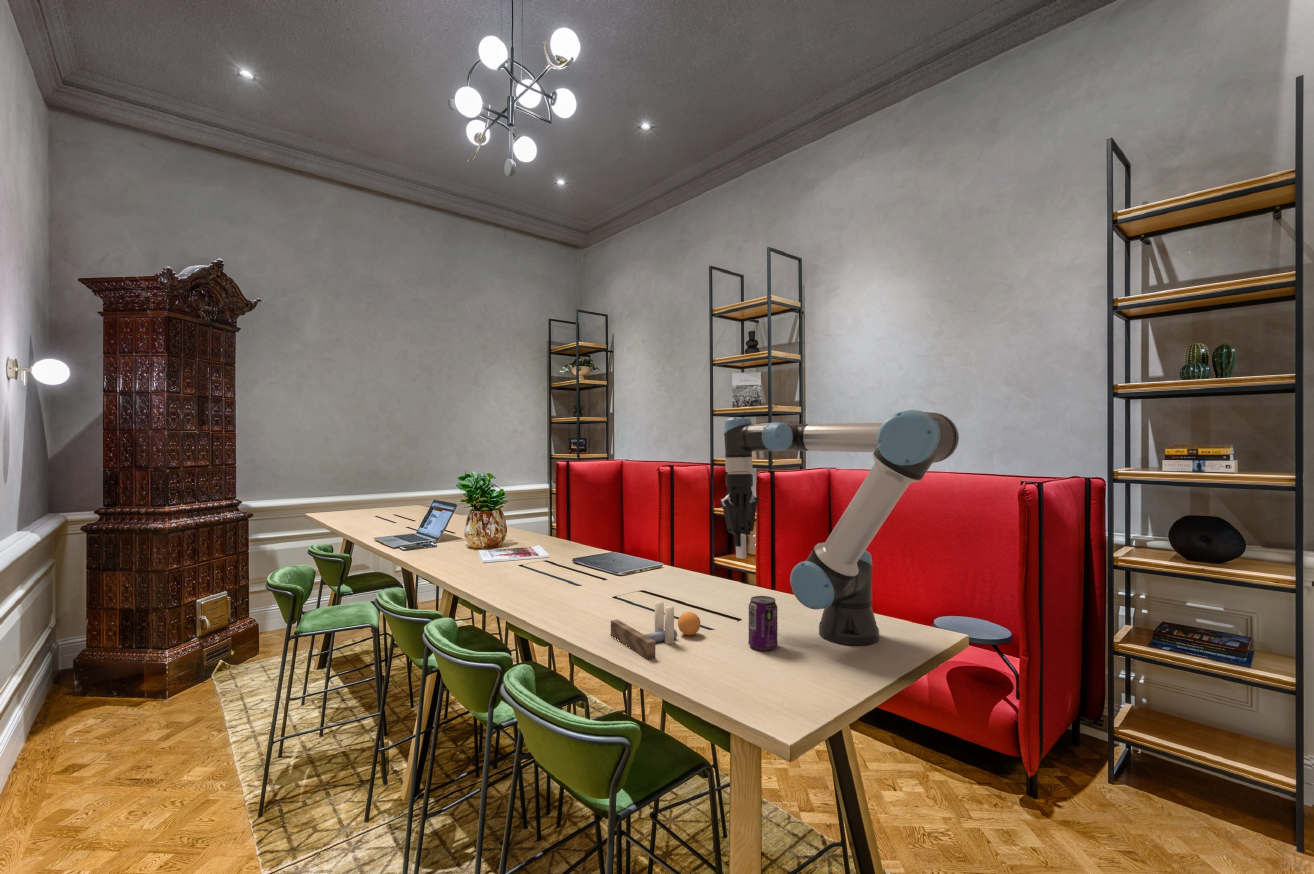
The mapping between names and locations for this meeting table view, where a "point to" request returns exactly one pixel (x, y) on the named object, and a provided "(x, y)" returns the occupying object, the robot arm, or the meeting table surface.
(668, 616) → the rear pin left
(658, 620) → the rear pin right
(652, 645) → the walnut rail
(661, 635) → the front pin
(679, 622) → the ball
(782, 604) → the meeting table surface
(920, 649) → the meeting table surface
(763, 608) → the beverage can
